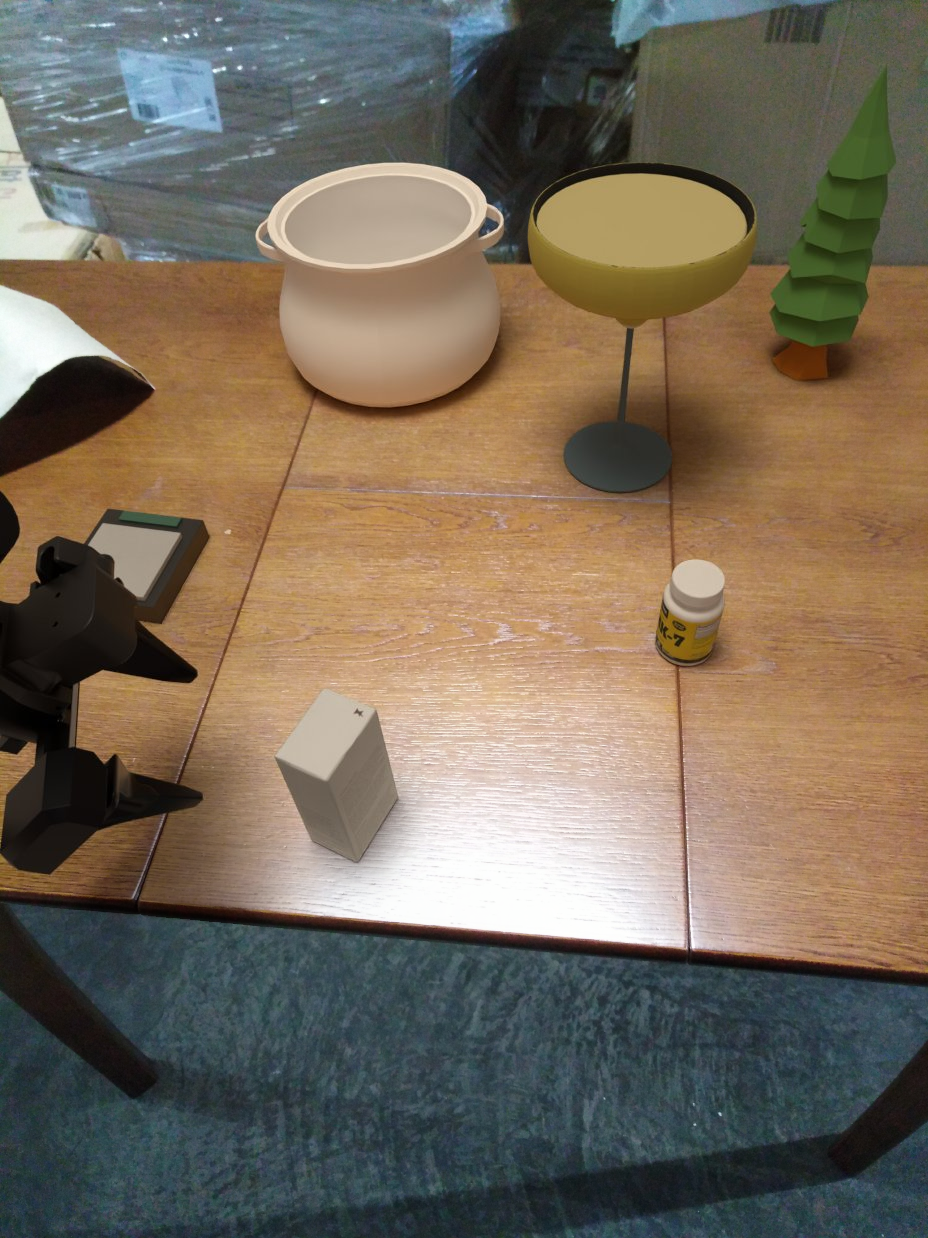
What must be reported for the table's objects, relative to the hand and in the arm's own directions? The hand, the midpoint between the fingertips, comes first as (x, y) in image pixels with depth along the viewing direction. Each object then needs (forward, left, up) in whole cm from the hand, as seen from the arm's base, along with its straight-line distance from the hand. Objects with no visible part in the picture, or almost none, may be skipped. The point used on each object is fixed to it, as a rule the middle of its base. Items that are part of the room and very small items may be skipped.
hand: (197, 735), depth 55 cm
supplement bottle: (+30, +23, -14) cm, 40 cm away
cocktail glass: (+22, +46, -14) cm, 53 cm away
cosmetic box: (+7, +3, -14) cm, 16 cm away
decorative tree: (+40, +65, -14) cm, 77 cm away
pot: (-5, +60, -14) cm, 62 cm away
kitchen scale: (-20, +23, -13) cm, 33 cm away
